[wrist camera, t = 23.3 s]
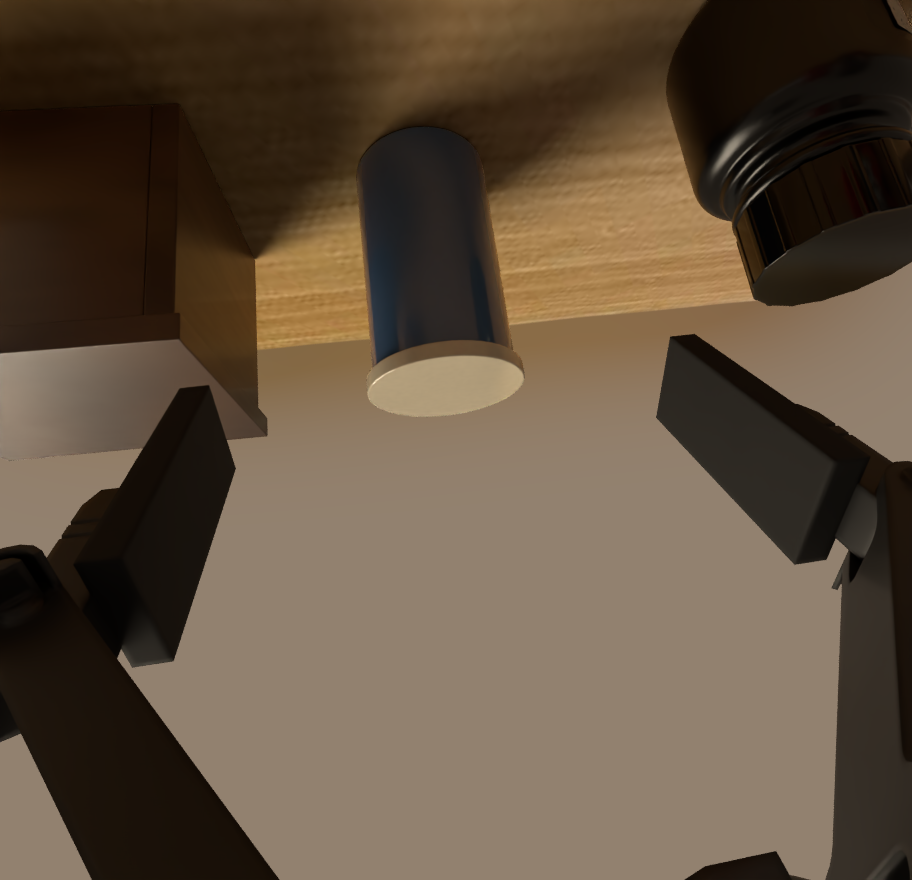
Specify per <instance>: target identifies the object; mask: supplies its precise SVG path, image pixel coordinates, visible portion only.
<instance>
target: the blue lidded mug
mask: <svg viewBox="0 0 912 880" xmlns="http://www.w3.org/2000/svg"><path fill="white" fill-rule="evenodd" d="M356 181H357V193H358V205H359V217H360V229H361V240H362V252H363V264H364V275H365V287H366V299H367V311H368V322H369V334H370V346H371V357H372V369H371V370H370V372H369V374H368V376H367V380H366V381H367V392H368V393H367V394H368V398H369V400H370V401H371V403H372V404H373V405H375V406H376V407H378V408H380V409H382V410H384V411H387V412H390V413H394V414H399V415H406V416H418V417H429V416H446V415H454V414H460V413H465V412H470V411H474V410H478V409H481V408H485V407H487V406H490V405H493V404H496V403H498V402H500V401H502V400H504V399H506V398H508V397H509V396H511V395H512V394H514V393H515V392H516V391H517V390H518V389H519V388H520V387H521V386H522V384H523V382H524V378H525V377H524V370H523V363H522V360H521V358H520V357H519V355H518V354H517V353H516V352H514V351H513V347H512V340H511V334H510V329H509V322H508V316H507V310H506V304H505V298H504V292H503V286H502V280H501V273H500V267H499V261H498V255H497V249H496V243H495V237H494V231H493V225H492V219H491V213H490V207H489V201H488V195H487V189H486V183H485V176H484V170H483V164H482V161H481V158H480V156H479V154H478V152H477V151H476V149H475V148H474V147H473V145H472V144H470V143H469V142H468V141H467V140H466V139H464V138H463V137H462V136H460V135H458V134H456V133H454V132H451V131H449V130H445V129H441V128H436V127H412V128H407V129H402V130H399V131H396V132H393V133H391V134H389V135H387V136H385V137H383V138H381V139H380V140H378V141H377V142H376V143H374V144H373V145H372V146H371V147H370V148H369V149H368V150H367V151H366V153H365V154H364V156H363V157H362V159H361V161H360V163H359V165H358V169H357V175H356Z"/></svg>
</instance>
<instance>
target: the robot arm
mask: <svg viewBox="0 0 912 880" xmlns="http://www.w3.org/2000/svg"><path fill="white" fill-rule="evenodd" d="M656 418H657V419H658V420H659V421H660V422H661V423H662V424H663V425H664V426H665V427H666V429H667V430H668V431H669V432H670V433H671V434H672V435H673V436H674V437H675V438H676V439H677V440H678V441H679V442H680V443H681V444H682V446H683V447H684V448H685V449H686V450H687V451H688V452H689V453H690V454H691V455H692V456H693V457H694V458H695V459H696V460H697V462H699V464H700V465H701V466H702V467H703V468H704V469H705V470H706V471H707V472H708V473H709V474H710V475H711V476H712V477H713V478H714V480H715V481H716V482H717V483H718V484H719V485H720V486H721V487H722V488H723V489H724V490H725V491H726V492H727V493H728V494H729V496H730V497H731V498H732V499H734V501H735V502H736V503H737V504H738V505H739V506H740V507H741V508H742V509H743V510H744V511H745V513H747V515H748V516H749V517H750V518H751V519H752V520H753V521H754V522H755V523H756V524H757V525H758V526H759V527H760V528H761V530H762V531H763V532H764V533H765V534H766V535H767V536H768V537H769V538H770V539H771V540H772V541H773V542H774V543H775V544H776V545H777V547H778V548H779V549H780V550H781V551H782V552H783V553H784V554H785V555H786V556H787V557H788V558H789V559H790V560H791V561H792V562H793V563H794V564H802V563H809V562H814V561H821V560H826V559H827V557H828V555H829V553H830V550H831V548H832V545H833V543H834V541H835V539H837V540H839V541H840V542H841V543H842V544H843V545H844V546H845V547H846V548H847V549H848V550H849V551H848V553H847V555H846V557H845V560H844V562H843V564H842V566H841V568H840V570H839V573H838V575H837V577H836V579H835V582H834V584H833V586H832V588H833V589H836V590H838V588H839V586H840V584H842V598H841V626H840V655H839V683H838V711H837V739H836V767H835V795H834V824H833V848H832V857H831V863H830V867H829V870H828V873H827V876H826V880H912V462H910V461H901V462H894V463H893V462H891V461H890V460H888V459H887V458H885V457H884V456H882V455H881V454H879V453H878V452H877V451H875V450H873V449H872V448H871V447H869V446H868V445H866V444H865V443H863V442H862V441H860V440H859V439H857V438H856V437H854V436H853V435H849V434H848V432H847V431H845V430H844V429H843V428H841V427H840V426H835V423H834V422H832V421H831V420H829V419H828V418H826V417H825V416H823V415H822V414H820V413H819V412H817V411H814V410H812V409H809V408H807V407H804V406H802V405H799V404H794V403H793V402H791V401H790V400H788V399H787V398H786V397H784V396H783V395H781V394H780V393H778V392H777V391H776V390H774V389H773V388H771V387H770V386H769V385H767V384H766V383H764V382H763V381H761V380H760V379H758V378H757V377H756V376H754V375H753V374H751V373H750V372H748V371H747V370H746V369H744V368H743V367H741V366H740V365H738V364H737V363H736V362H734V361H732V360H731V359H729V358H728V357H727V356H725V355H724V354H722V353H721V352H720V351H718V350H717V349H715V348H714V347H713V346H711V345H710V344H708V343H707V342H705V341H704V340H702V339H701V338H700V337H698V336H697V335H695V334H691V335H681V336H672V337H670V341H669V347H668V352H667V358H666V365H665V370H664V376H663V381H662V387H661V393H660V399H659V405H658V411H657V416H656ZM235 469H236V468H235V465H234V462H233V458H232V455H231V452H230V449H229V446H228V443H227V439H226V436H225V433H224V430H223V427H222V424H221V420H220V417H219V414H218V411H217V408H216V405H215V401H214V398H213V395H212V392H211V389H210V386H209V385H204V386H195V387H185V388H179V390H178V392H177V393H176V395H175V397H174V398H173V400H172V402H171V403H170V405H169V407H168V408H167V410H166V412H165V413H164V415H163V417H162V418H161V420H160V421H159V423H158V425H157V426H156V428H155V430H154V431H153V433H152V435H151V436H150V438H149V440H148V441H147V443H146V445H145V446H144V448H143V450H142V451H141V453H140V454H139V456H138V458H137V459H136V461H135V463H134V464H133V466H132V468H131V469H130V471H129V473H128V474H127V476H126V478H125V479H124V481H123V483H122V484H121V486H120V488H115V489H105V490H101V491H99V492H98V493H97V494H96V495H94V496H93V497H92V498H91V499H89V500H88V501H87V502H86V503H84V504H83V505H82V506H81V508H80V509H79V511H78V512H77V514H76V515H75V517H74V518H73V519H72V521H71V525H69V526H68V527H67V528H66V530H65V531H64V533H63V534H62V539H59V540H58V542H57V543H56V545H55V546H54V548H53V549H52V551H51V552H50V554H49V555H48V557H47V558H46V556H45V555H44V553H43V551H42V550H40V549H39V548H37V547H35V546H34V545H16V546H11V547H6V548H2V549H0V742H2V741H4V740H6V739H9V738H11V737H14V736H16V735H18V734H22V736H23V738H24V741H25V742H26V745H27V746H28V749H29V751H30V753H31V755H32V757H33V759H34V761H35V763H36V765H37V767H38V769H39V772H40V773H41V776H42V778H43V780H44V782H45V784H46V786H47V788H48V790H49V792H50V794H51V796H52V798H53V800H54V802H55V805H56V807H57V809H58V811H59V813H60V815H61V817H62V819H63V821H64V823H65V825H66V827H67V829H68V831H69V833H70V836H71V838H72V840H73V841H74V844H75V846H76V847H77V850H78V852H79V854H80V856H81V858H82V860H83V862H84V864H85V866H86V869H87V871H88V873H89V875H90V877H91V878H92V880H279V879H278V877H277V876H276V874H275V873H274V872H273V870H272V869H271V868H270V866H269V865H268V864H267V862H266V861H265V860H264V858H263V857H262V855H261V854H260V853H259V851H258V850H257V849H256V847H255V846H254V845H253V843H252V842H251V840H250V839H249V838H248V836H247V835H246V834H245V832H244V831H243V830H242V828H241V827H240V826H239V824H238V823H237V822H236V820H235V819H234V817H233V816H232V815H231V813H230V812H229V811H228V809H227V808H226V806H225V805H224V804H223V802H222V801H221V800H220V799H219V797H218V796H217V794H216V793H215V792H214V790H213V789H212V787H211V786H210V785H209V783H208V782H207V781H206V779H205V778H204V777H203V775H202V774H201V772H200V771H199V770H198V768H197V767H196V766H195V764H194V763H193V762H192V760H191V759H190V757H189V756H188V755H187V753H186V752H185V751H184V749H183V748H182V747H181V745H180V744H179V743H178V741H177V740H176V738H175V737H174V736H173V734H172V733H171V732H170V730H169V729H168V728H167V726H166V725H165V723H164V722H163V721H162V719H161V718H160V717H159V715H158V714H157V713H156V711H155V710H154V709H153V707H152V706H151V705H150V703H149V702H148V700H147V699H146V698H145V696H144V695H143V694H142V692H141V691H140V689H139V688H138V687H137V685H136V684H135V683H134V681H133V680H132V679H131V677H130V676H129V675H128V673H127V672H126V670H125V669H124V668H123V667H122V665H121V664H120V662H119V661H118V660H117V657H118V655H119V652H120V650H121V649H122V651H123V652H124V654H125V656H126V658H127V659H128V661H129V663H130V665H131V666H132V667H139V666H146V665H152V664H159V663H164V662H172V661H174V658H175V655H176V652H177V649H178V646H179V643H180V640H181V636H182V633H183V630H184V627H185V624H186V621H187V618H188V614H189V612H190V608H191V605H192V602H193V599H194V596H195V593H196V590H197V587H198V584H199V581H200V578H201V575H202V571H203V568H204V565H205V562H206V559H207V556H208V553H209V550H210V547H211V543H212V540H213V537H214V534H215V531H216V528H217V525H218V522H219V519H220V516H221V513H222V510H223V506H224V503H225V500H226V497H227V494H228V491H229V488H230V485H231V482H232V478H233V475H234V472H235ZM685 880H809V879H804V878H801V877H797V876H791V875H789V874H788V872H787V870H786V868H785V866H784V864H783V863H782V861H781V859H780V857H779V855H778V854H777V852H776V851H774V852H770V853H765V854H761V855H756V856H751V857H746V858H742V859H737V860H733V861H728V862H723V863H718V864H714V865H709V866H705V867H704V868H702V869H700V870H699V871H697V872H696V873H694V874H693V875H691V876H690V877H688V878H687V879H685Z"/></svg>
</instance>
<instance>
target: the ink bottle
mask: <svg viewBox="0 0 912 880" xmlns="http://www.w3.org/2000/svg"><path fill="white" fill-rule="evenodd" d="M666 95H667V102H668V106H669V109H670V113H671V116H672V120H673V123H674V126H675V130H676V133H677V137H678V140H679V144H680V147H681V150H682V154H683V157H684V161H685V164H686V168H687V171H688V174H689V178H690V181H691V185H692V188H693V191H694V194H695V196H696V199H697V201H698V202H699V204H700V205H701V206H702V208H703V209H704V210H705V211H707V212H708V213H709V214H711V215H713V216H715V217H717V218H719V219H722V220H726V221H731V222H732V229H733V233H734V235H735V237H736V239H737V242H736V243H737V246H738V249H739V253H740V256H741V259H742V262H743V266H744V269H745V272H746V275H747V279H748V282H749V285H750V288H751V292H752V295H753V298H754V299H755V300H758V301H760V302H762V303H765V304H766V305H767V306H772V305H774V306H775V305H777V306H795V305H800V304H805V303H811V302H817V301H823V300H826V299H829V298H831V297H835V296H838V295H841V294H845V293H848V292H851V291H855V290H858V289H860V288H861V287H864V286H866V285H868V284H870V283H873V282H874V281H877V280H879V279H881V278H884V277H887V276H889V275H891V274H893V273H895V272H896V271H897V270H899V269H901V268H902V267H904V266H906V265H907V264H909V263H911V262H912V28H911V26H910V24H909V22H908V19H907V17H906V15H905V13H904V11H903V9H902V7H901V5H900V2H899V0H709V1H708V2H707V3H706V4H705V5H704V6H703V7H702V9H701V10H700V11H699V12H698V14H697V15H696V16H695V18H694V19H693V21H692V22H691V23H690V25H689V26H688V28H687V30H686V31H685V33H684V35H683V36H682V38H681V40H680V42H679V44H678V46H677V48H676V50H675V53H674V55H673V58H672V60H671V63H670V67H669V70H668V75H667V82H666Z"/></svg>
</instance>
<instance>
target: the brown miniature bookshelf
mask: <svg viewBox="0 0 912 880" xmlns="http://www.w3.org/2000/svg"><path fill="white" fill-rule="evenodd" d="M257 376H258V375H257V329H256V283H255V260H254V258H253V256H252V254H251V252H250V250H249V247H248V245H247V243H246V241H245V239H244V237H243V235H242V233H241V231H240V229H239V227H238V225H237V223H236V221H235V219H234V216H233V214H232V212H231V210H230V208H229V206H228V204H227V202H226V200H225V198H224V196H223V194H222V192H221V190H220V188H219V186H218V183H217V181H216V179H215V177H214V175H213V173H212V171H211V169H210V167H209V165H208V163H207V161H206V159H205V157H204V155H203V152H202V150H201V148H200V146H199V144H198V142H197V140H196V138H195V136H194V134H193V132H192V130H191V128H190V126H189V124H188V122H187V119H186V117H185V115H184V113H183V111H182V109H181V107H180V105H179V104H160V105H153V107H152V106H151V105H138V106H114V107H90V108H66V109H42V110H18V111H0V458H3V459H6V460H9V461H12V460H13V461H14V460H24V459H34V458H45V457H54V456H65V455H75V454H87V453H96V452H107V451H118V450H128V449H139V448H144V446H145V445H146V443H147V441H148V440H149V438H150V436H151V435H152V433H153V431H154V430H155V428H156V426H157V425H158V423H159V421H160V420H161V418H162V417H163V415H164V413H165V412H166V410H167V408H168V407H169V405H170V403H171V402H172V400H173V398H174V397H175V395H176V393H177V392H178V390H179V388H185V387H195V386H204V385H209V386H210V389H211V392H212V395H213V398H214V401H215V405H216V408H217V411H218V414H219V417H220V420H221V424H222V427H223V430H224V433H225V436H226V439H227V440H232V439H242V438H253V437H264V436H267V418H266V416H265V415H264V414H263V413H262V412H261V410H260V409H259V408H258V377H257Z"/></svg>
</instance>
